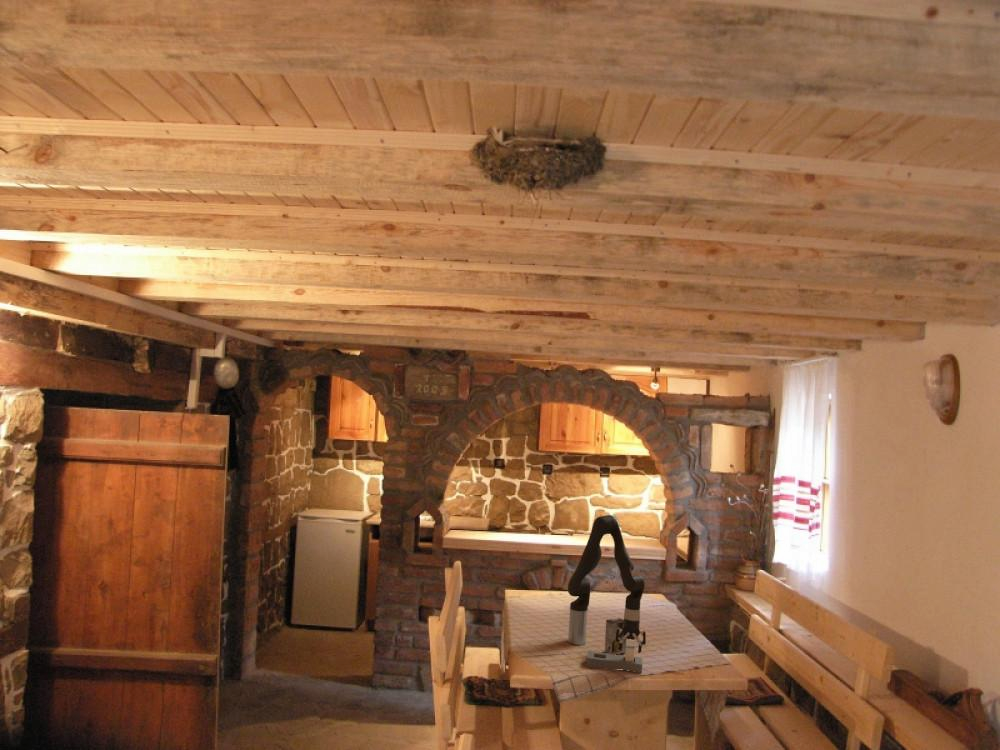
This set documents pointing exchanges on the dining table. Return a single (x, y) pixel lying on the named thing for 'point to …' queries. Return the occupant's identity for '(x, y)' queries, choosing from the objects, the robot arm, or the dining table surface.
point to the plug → (629, 653)
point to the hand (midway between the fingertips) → (629, 651)
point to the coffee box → (614, 636)
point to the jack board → (613, 662)
